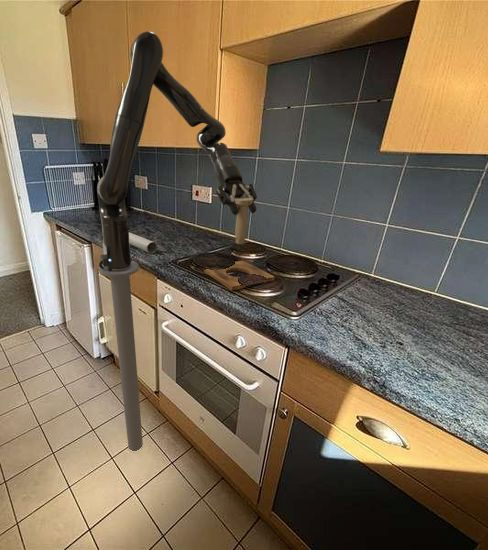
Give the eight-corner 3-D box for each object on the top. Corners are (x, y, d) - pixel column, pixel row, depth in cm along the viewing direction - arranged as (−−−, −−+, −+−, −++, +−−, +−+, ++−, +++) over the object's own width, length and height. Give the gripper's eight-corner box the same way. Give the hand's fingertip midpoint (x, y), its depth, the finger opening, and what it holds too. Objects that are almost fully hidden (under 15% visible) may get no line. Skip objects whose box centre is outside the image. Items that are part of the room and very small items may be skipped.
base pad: (231, 290, 98) (232, 286, 97) (203, 271, 112) (203, 268, 111) (274, 280, 105) (274, 276, 105) (242, 263, 120) (243, 260, 119)
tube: (116, 233, 144) (145, 245, 127) (126, 228, 147) (155, 239, 129) (121, 243, 147) (149, 256, 130) (129, 237, 150) (158, 249, 132)
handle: (228, 243, 104) (231, 199, 98) (241, 239, 107) (244, 197, 101) (238, 246, 100) (242, 201, 94) (251, 243, 104) (255, 199, 98)
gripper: (213, 164, 97) (232, 208, 92) (249, 163, 103) (269, 204, 98) (205, 180, 103) (222, 221, 98) (239, 178, 109) (256, 217, 105)
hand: (245, 212), depth 98 cm, fingers closed on handle, 6 cm apart
